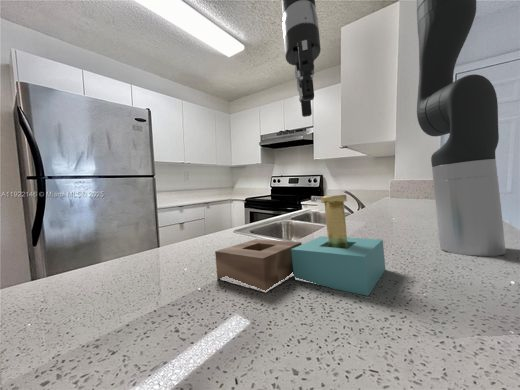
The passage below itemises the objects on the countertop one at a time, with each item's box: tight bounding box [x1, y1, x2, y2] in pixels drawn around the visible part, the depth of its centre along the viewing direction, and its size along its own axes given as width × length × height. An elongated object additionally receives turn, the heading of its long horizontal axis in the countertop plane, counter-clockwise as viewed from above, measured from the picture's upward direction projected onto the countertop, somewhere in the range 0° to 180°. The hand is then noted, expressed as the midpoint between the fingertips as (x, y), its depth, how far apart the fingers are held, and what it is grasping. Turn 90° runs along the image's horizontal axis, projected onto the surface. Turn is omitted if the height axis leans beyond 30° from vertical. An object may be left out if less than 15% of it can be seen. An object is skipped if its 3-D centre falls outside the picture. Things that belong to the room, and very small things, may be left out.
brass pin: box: [320, 194, 348, 249], centre depth 35 cm, size 4×4×13 cm
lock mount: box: [214, 238, 302, 291], centre depth 38 cm, size 11×11×5 cm
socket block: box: [291, 235, 387, 297], centre depth 35 cm, size 11×11×5 cm
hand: (307, 108), depth 46 cm, fingers open, 8 cm apart
